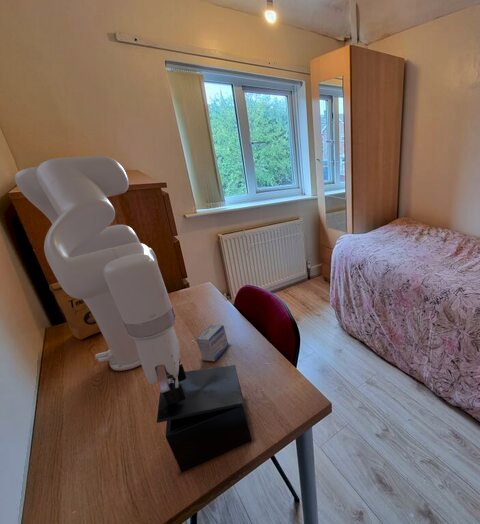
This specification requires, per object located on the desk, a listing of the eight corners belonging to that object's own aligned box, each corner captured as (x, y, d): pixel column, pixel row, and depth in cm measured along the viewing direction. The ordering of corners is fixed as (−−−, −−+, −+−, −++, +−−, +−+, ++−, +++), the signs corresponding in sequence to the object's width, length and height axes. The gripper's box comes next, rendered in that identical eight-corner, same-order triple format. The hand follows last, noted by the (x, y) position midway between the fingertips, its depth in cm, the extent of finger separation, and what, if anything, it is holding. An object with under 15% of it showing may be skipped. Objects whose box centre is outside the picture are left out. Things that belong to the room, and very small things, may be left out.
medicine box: (214, 362, 90) (208, 340, 86) (202, 360, 91) (195, 338, 87) (229, 345, 97) (223, 324, 93) (217, 343, 98) (211, 323, 94)
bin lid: (156, 423, 54) (157, 402, 52) (162, 377, 64) (162, 358, 63) (242, 405, 62) (244, 387, 60) (235, 367, 72) (236, 350, 70)
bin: (181, 472, 61) (165, 436, 56) (182, 424, 71) (169, 390, 66) (252, 441, 67) (242, 405, 62) (243, 400, 77) (235, 367, 72)
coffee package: (120, 326, 108) (98, 274, 99) (78, 344, 99) (49, 289, 90) (112, 317, 114) (90, 267, 105) (72, 333, 105) (44, 280, 96)
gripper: (134, 303, 58) (161, 369, 66) (115, 356, 44) (152, 433, 52) (176, 294, 61) (197, 358, 69) (171, 341, 47) (197, 416, 55)
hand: (177, 390), depth 60 cm, fingers closed on bin lid, 5 cm apart
